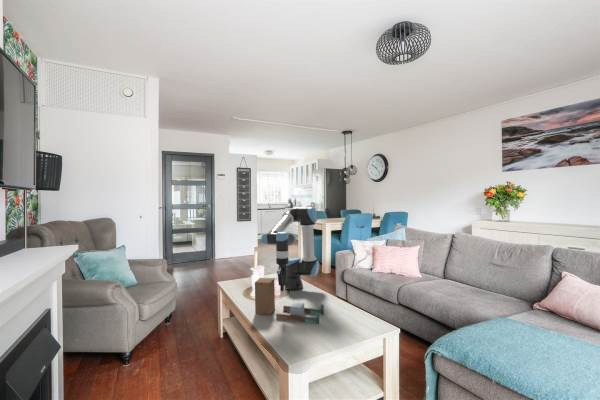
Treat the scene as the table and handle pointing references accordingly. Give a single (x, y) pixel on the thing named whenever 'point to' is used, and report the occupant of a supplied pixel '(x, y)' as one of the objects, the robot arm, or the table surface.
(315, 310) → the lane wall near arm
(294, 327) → the table surface
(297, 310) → the slate block
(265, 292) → the wooden block
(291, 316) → the lane wall camera side
